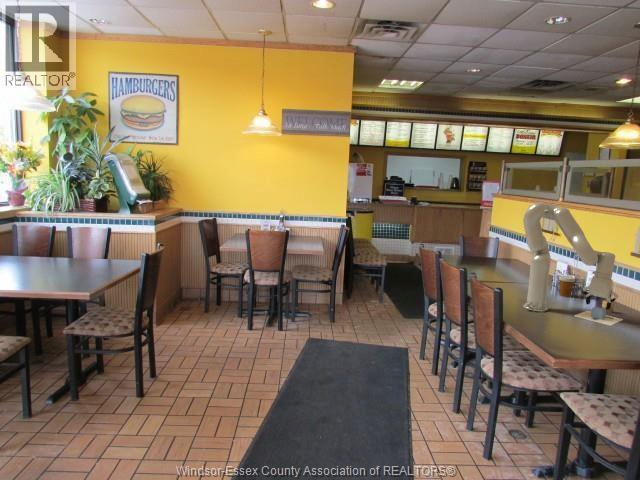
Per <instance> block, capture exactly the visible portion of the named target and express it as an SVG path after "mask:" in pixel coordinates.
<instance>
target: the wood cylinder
mask: <svg viewBox="0 0 640 480" xmlns="http://www.w3.org/2000/svg"><path fill="white" fill-rule="evenodd" d="M607 302H608V300H607V299H606V300H605V299H603V300H602V304H601V308H604V309H606V305H607ZM614 308H615V301H613V302H612V304H611V308H610V309H608V310H606V313H609V314H611V313H612V314H613V313H614Z"/></svg>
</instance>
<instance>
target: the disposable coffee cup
mask: <svg viewBox="0 0 640 480" xmlns="http://www.w3.org/2000/svg"><path fill="white" fill-rule="evenodd" d="M558 280H559V284H558V285H559V287H558V289H559V296H561V297H565V298H569V297H571V296H572V292H573V289H574V286H575V282H576V277H574V276H570V275H559V277H558Z"/></svg>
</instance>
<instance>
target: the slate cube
mask: <svg viewBox="0 0 640 480" xmlns="http://www.w3.org/2000/svg"><path fill="white" fill-rule="evenodd" d="M591 312H592V315H591V317H593V318H597V319H601V320H602V319H604V318H605V316H606V315H607V314H606V313H607V312H606V309H604V308H602V307H600V306H595V307H592V309H591Z"/></svg>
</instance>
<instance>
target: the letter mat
mask: <svg viewBox="0 0 640 480" xmlns="http://www.w3.org/2000/svg"><path fill="white" fill-rule="evenodd" d="M591 315H592V310H585V311H582V312H580V313H577V314H575V315H573V317H575V318H580V319H583V320H587V321H591V322H596V323H598V324H603V325H606V326H613V325H615V324H616V323H620V322H621V321H623V320H624V319H623V318H621V317H620V318H619V317H615V316H611V315H607V314H606V316H605V318H604V319H602V320H601V319H597V318H593V317H591Z"/></svg>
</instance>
